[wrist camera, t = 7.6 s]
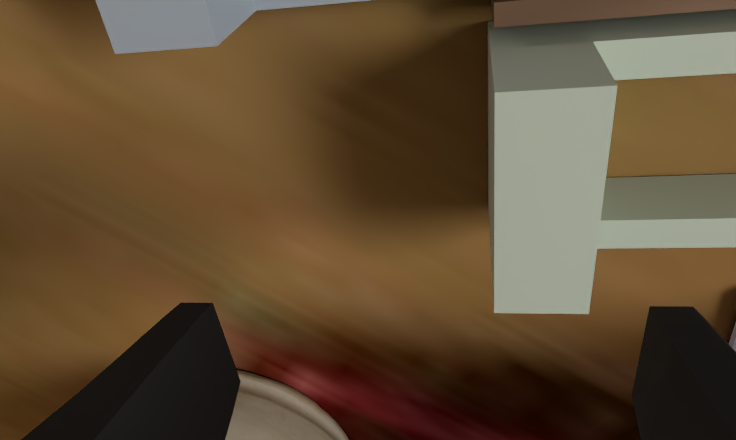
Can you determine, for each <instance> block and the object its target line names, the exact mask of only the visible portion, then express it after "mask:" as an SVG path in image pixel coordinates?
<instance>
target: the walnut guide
mask: <svg viewBox="0 0 736 440" xmlns="http://www.w3.org/2000/svg"><path fill="white" fill-rule="evenodd" d="M491 8H492V16H493V24H494V28H495V27H508V26H520V25H533V24H546V23H559V22H572V21H585V20H598V19H611V18H623V17H636V16H649V15H662V14H675V13H688V12H701V11H714V10H727V9H736V0H491Z"/></svg>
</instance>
